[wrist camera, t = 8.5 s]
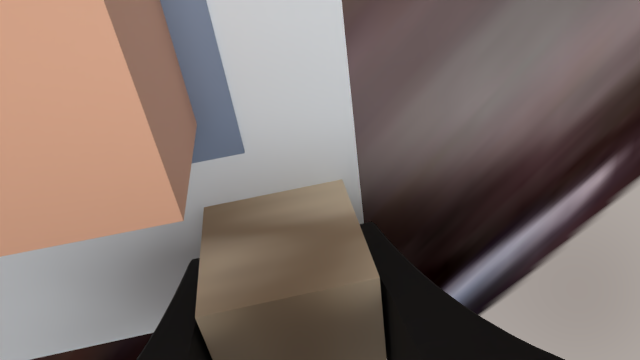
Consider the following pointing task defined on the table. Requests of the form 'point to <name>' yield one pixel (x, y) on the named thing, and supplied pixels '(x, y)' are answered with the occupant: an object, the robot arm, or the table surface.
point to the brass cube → (289, 279)
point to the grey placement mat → (201, 169)
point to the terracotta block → (89, 122)
